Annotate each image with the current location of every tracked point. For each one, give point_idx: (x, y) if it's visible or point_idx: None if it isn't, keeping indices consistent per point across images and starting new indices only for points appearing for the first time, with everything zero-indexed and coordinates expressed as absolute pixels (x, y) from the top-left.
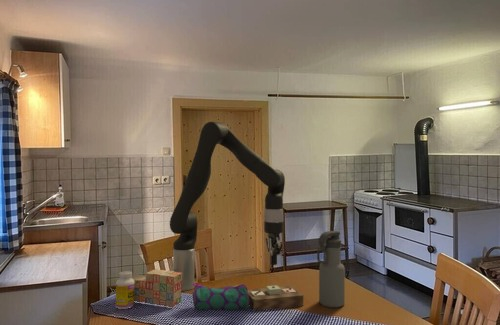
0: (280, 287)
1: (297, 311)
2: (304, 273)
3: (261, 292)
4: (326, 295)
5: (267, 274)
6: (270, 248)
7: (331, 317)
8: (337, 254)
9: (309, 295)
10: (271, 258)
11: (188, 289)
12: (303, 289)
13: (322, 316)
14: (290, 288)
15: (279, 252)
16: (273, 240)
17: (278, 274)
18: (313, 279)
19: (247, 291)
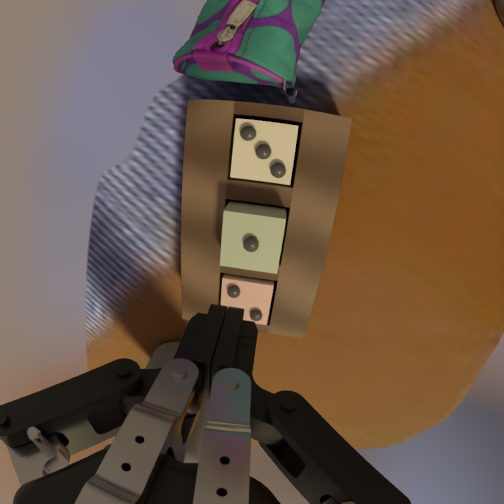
0: (306, 294)
1: (152, 253)
2: (429, 410)
3: (263, 173)
4: (153, 364)
5: (497, 332)
6: (154, 416)
7: (101, 306)
8: None
9: (274, 357)
10: (203, 338)
11: (499, 13)
12: (333, 368)
13: (108, 293)
14: (254, 316)
15: (106, 406)
16: (61, 499)
17: (475, 358)
18: (382, 413)
19: (178, 60)
